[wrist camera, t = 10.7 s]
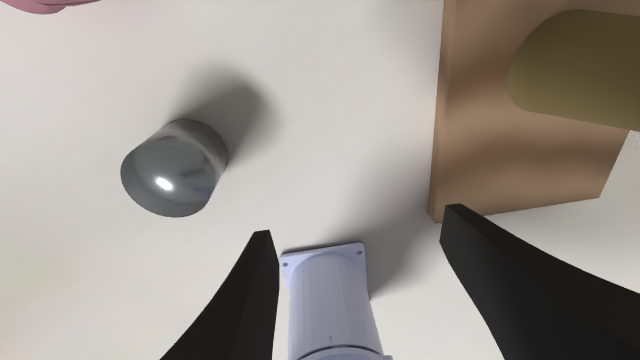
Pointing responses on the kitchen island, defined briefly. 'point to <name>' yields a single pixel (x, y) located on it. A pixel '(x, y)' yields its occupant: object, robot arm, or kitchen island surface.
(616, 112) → the olive peg
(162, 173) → the grey domed cylinder
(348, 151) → the kitchen island surface
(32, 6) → the pink toy figurine
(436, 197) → the walnut board
